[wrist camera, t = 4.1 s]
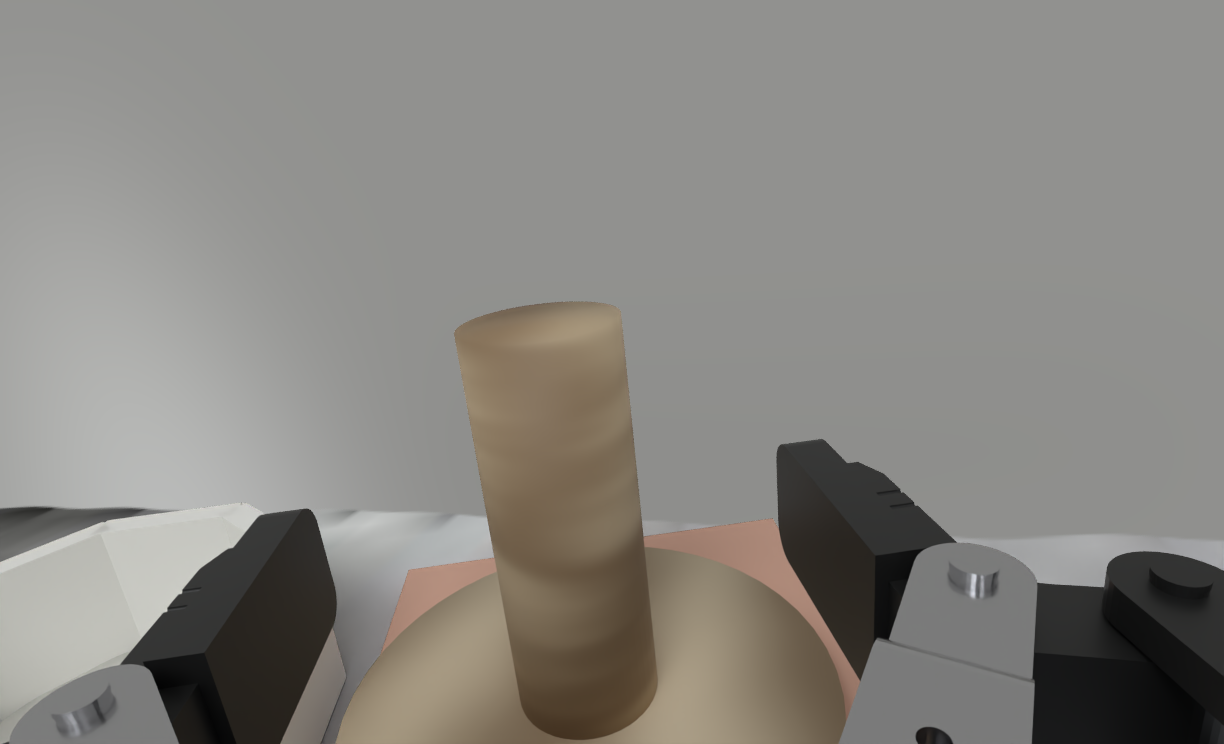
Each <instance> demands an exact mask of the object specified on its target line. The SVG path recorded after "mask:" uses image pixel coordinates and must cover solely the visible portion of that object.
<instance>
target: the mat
mask: <svg viewBox="0 0 1224 744" xmlns="http://www.w3.org/2000/svg"><path fill="white" fill-rule="evenodd" d="M643 538H644V547H652V548H659V549H667V550H674V551H679V552H684V553H689V554H693V555H697V556H701V557H704V558H707V559H711V560H714V561H717V562H720V563H722V564H725V565H727V566H730V567H732V568H735V569H737V570H740V571H741V572H743V573H745V574H747V575H749V576H751V577H753V578H755V579H757V580H758V581H760V582H762V583H763V584H765V585H766V586H768V587H769V588H771V589H772V590H774V591H775V592H777V593H778V594H779V595H781V596H782V597H783V598H784V599H785V600H786V601H788V602H789V603H790V604H791V605H792V606H793V607H794V608H796V609H797V610H798V611H799V612H800V614H801V615H802V616H803V617H804V618H805V619H806V620H807V621H808V623H809V624H810V625H811V626H812V627H813V628H814V630H815V631H816V633H817V634H818V636H819V637H820V639H821V640H822V642H823V643H824V645H825V647H826V648H827V650H828V652H829V655H830V657H831V659H832V661H833V663H834V665H835V668H836V670H837V673H838V676H839V680H840V684H841V687H842V691H843V695H844V703H845V713H846V721H847V718H848V715H849V712H850V710H851V707H852V704H853V701H854V698H855V695H856V692H857V690H858V687H859V684H860V680H859V678H858V677H857V675H856V673H855V672H854V670H853V668H852V667H851V665H850V663H849V662H848V660H847V658H846V657H845V655H844V653H843V652H842V650H841V648H840V647H839V645H838V643H837V642H836V640H835V638H834V637H833V635H832V633H831V632H830V630H829V628H828V627H827V625H826V624H825V622H824V620H823V619H822V617H821V615H820V614H819V612H818V610H817V609H816V607H815V605H814V604H813V602H812V600H811V599H810V597H809V595H808V594H807V592H806V590H805V589H804V587H803V585H802V584H801V582H800V580H799V579H798V577H797V575H796V574H795V572H794V570H793V569H792V567H791V565H790V564H789V562H788V560H787V558H786V556H785V553H784V550H783V547H782V543H781V538H780V533H779V528H778V527H777V525H776V523H775V522H774V520H773V519H765V520H758V521H751V522H744V523H736V524H729V525H722V526H715V527H708V528H701V529H694V530H687V531H680V532H673V533H666V534H659V535H652V536H645V537H643ZM495 572H497V569H496V563H495V558H489V559H482V560H475V561H468V562H461V563H454V564H447V565H440V566H433V567H426V568H419V569H411V570H409V571H408V574H407V577H406V580H405V583H404V586H403V589H402V592H401V595H400V598H399V601H398V604H397V607H396V610H395V613H394V616H393V619H392V622H391V625H390V628H389V631H388V634H387V637H386V640H385V643H384V646H383V648H382V651H381V654H382V652H383V651H384V650H385V649H386V648H387V647H388V646H389V645H390V644H391V643H392V642H393V641H394V640H395V638H396V637H397V636H398V635H399V634H400V633H401V632H402V631H403V630H405V629H406V628H407V627H408V626H409V625H410V624H412V623H413V622H414V621H415V620H416V619H417V618H419V617H420V616H421V615H422V614H424V613H425V612H426V611H428V610H429V609H430V608H432V607H433V606H435V605H436V604H437V603H439V602H440V601H442V600H443V599H445V598H447V597H448V596H450V595H452V594H453V593H455V592H456V591H458V590H460V589H461V588H463V587H465V586H467V585H469V584H471V583H473V582H475V581H477V580H479V579H481V578H483V577H485V576H487V575H490V574H492V573H495ZM381 654H380V655H381Z"/></svg>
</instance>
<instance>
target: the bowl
mask: <svg viewBox="0 0 1224 744" xmlns="http://www.w3.org/2000/svg"><path fill="white" fill-rule="evenodd" d="M263 514H264V513H262V512H261V511H259V510H257V509H255V508H254V507H252V506H250V505H249V504H247V503H244V504H242V503H234V504H227V505H219V506H212V507H204V508H198V509H189V510H182V511H175V512H167V513H160V514H152V515H145V516H137V517H130V518H123V519H115V520H108V521H107V522H105V523H103V522H101V523H99V524H96V525H94V526H91V527H88V528H86V529H83V530H81V531H78V532H76V533H73V534H71V535H68V536H66V537H63V538H60V539H58V540H55V541H53V542H50V543H48V544H45V545H43V546H40V547H38V548H35V549H32V550H30V551H27V552H25V553H22V554H20V555H17V556H15V557H12V558H10V559H7V560H4V561H2V562H0V744H3V743H6V742H9V739H10V735H11V733H12V731H13V729H14V727H15V726H16V724H17V723H18V721H19V720H20V719H21V718H22V717H23V716H24V715H25V714H26V713H27V712H28V711H29V710H30V709H31V708H32V707H33V706H34V705H35V704H37V703H38V702H39V701H41V700H42V699H43V698H45V697H46V696H48V695H49V694H51V693H52V692H53V691H55V690H57V689H58V688H60V687H62V686H64V685H65V684H67V683H69V682H71V681H73V680H75V679H77V678H79V677H82V676H84V675H87V674H89V673H92V672H95V671H97V670H100V669H104V668H108V667H111V666H117V665H120V664H121V662H122V661H123V660H124V659H125V658H126V656H127V655H128V654H129V653H130V652H131V651H132V649H133V648H134V647H135V646H136V645H137V643H138V642H139V641H140V640H141V639H142V637H143V636H144V635H145V634H146V633H147V631H148V630H149V629H150V628H151V627H152V625H153V624H154V623H155V622H156V621H157V619H158V618H159V617H160V616H161V615H162V613H164V612H167V607H168V606H169V605H170V604H171V603H172V601H173V600H174V599H175V598H176V597H177V595H178V594H182V589H183V588H184V587H185V586H186V585H187V583H188V582H189V581H190V580H191V579H192V577H193V576H194V575H195V574H196V573H197V571H198V570H199V569H200V568H201V567H203V566H204V565H206V564H207V563H208V562H210V561H211V560H213V559H214V558H215V557H217V556H218V555H220V554H221V553H223V552H224V551H225V550H227V549H228V548H233V547H234V546H235V545H236V544H237V542H238V541H239V540H240V538H241V537H242V536H243V535H244V533H245V532H246V531H247V530H248V528H249V527H250V526H251V525H252V523H253V522H254V521H255V520H256V518H257V517H258V516H260V515H263ZM345 679H346V673H345V669H344V665H343V662H342V658H341V655H340V651H339V648H338V644H337V640H336V637H335V633H334V630H333V628H332V630H331V632H330V634H329V636H328V639H327V641H326V643H325V645H324V648H323V650H322V652H321V654H320V657H319V659H318V661H317V663H316V665H315V668H314V670H313V672H312V674H311V677H310V679H309V681H308V683H307V685H306V688H305V690H304V692H303V694H302V697H301V699H300V701H299V703H298V705H297V708H296V710H295V712H294V714H293V717H292V719H291V721H290V723H289V726H288V728H287V730H286V732H285V734H284V737H283V739H282V741H281V743H280V744H321V741H322V739H323V736H324V734H325V731H326V728H327V726H328V723H329V721H330V718H331V716H332V713H333V710H334V708H335V705H336V703H337V700H338V697H339V695H340V692H341V690H342V687H343V684H344V682H345Z"/></svg>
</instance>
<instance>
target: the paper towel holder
mask: <svg viewBox="0 0 1224 744" xmlns="http://www.w3.org/2000/svg"><path fill="white" fill-rule="evenodd" d="M454 336H455V342H456V347H457V353H458V358H459V363H460V369H461V375H462V380H463V386H464V391H465V396H466V402H467V408H468V414H469V419H470V425H471V430H472V436H473V441H474V446H475V452H476V458H477V463H478V468H479V475H480V480H481V486H482V491H483V496H484V502H485V508H486V513H487V519H488V524H489V530H490V536H491V541H492V547H493V552H494V558H495V563H496V569H497V572H495V573H492V574H490V575H487V576H485V577H483V578H481V579H479V580H477V581H475V582H473V583H471V584H469V585H467V586H465V587H463V588H461V589H460V590H458V591H456V592H455V593H453V594H452V595H450V596H448V597H447V598H445V599H443V600H442V601H440V602H439V603H437V604H436V605H435V606H433V607H432V608H430V609H429V610H428V611H426V612H425V613H424V614H422V615H421V616H420V617H419V618H417V619H416V620H415V621H414V622H413V623H412V624H410V625H409V626H408V627H407V628H406V629H405V630H403V631H402V632H401V633H400V634H399V635H398V636H397V637H396V638H395V640H394V641H393V642H392V643H391V644H390V645H389V646H388V647H387V648H386V649H385V650H384V651H383V652H382V654H381V655H380V656H379V657H378V659H377V660H376V661H375V663H374V664H373V665H372V666H371V668H370V669H369V670H368V672H367V673H366V675H365V677H364V678H363V680H362V681H361V683H360V685H359V686H358V688H357V690H356V691H355V693H354V695H353V697H352V699H351V701H350V704H349V706H348V708H347V710H346V712H345V715H344V717H343V719H342V723H341V726H340V730H339V733H338V737H337V740H336V743H335V744H839V741H840V738H841V735H842V732H843V730H844V727H845V724H846V713H845V703H844V695H843V691H842V687H841V684H840V680H839V676H838V673H837V670H836V668H835V665H834V663H833V661H832V659H831V657H830V655H829V652H828V650H827V648H826V647H825V645H824V643H823V642H822V640H821V639H820V637H819V636H818V634H817V633H816V631H815V630H814V628H813V627H812V626H811V625H810V624H809V623H808V621H807V620H806V619H805V618H804V617H803V616H802V615H801V614H800V612H799V611H798V610H797V609H796V608H794V607H793V606H792V605H791V604H790V603H789V602H788V601H786V600H785V599H784V598H783V597H782V596H781V595H779V594H778V593H777V592H775V591H774V590H772V589H771V588H769V587H768V586H766V585H765V584H763V583H762V582H760V581H758V580H757V579H755V578H753V577H751V576H749V575H747V574H745V573H743V572H741V571H740V570H737V569H735V568H732V567H730V566H727V565H725V564H722V563H720V562H717V561H714V560H711V559H707V558H704V557H701V556H697V555H693V554H689V553H684V552H679V551H674V550H667V549H659V548H652V547H644V538H643V528H642V518H641V508H640V498H639V489H638V479H637V469H636V459H635V448H634V438H633V428H632V418H631V409H630V399H629V389H628V379H627V369H626V359H625V350H624V340H623V329H622V319H621V311H620V310H619V309H618V308H616V307H614V306H612V305H608V304H604V303H596V302H555V303H543V304H535V305H529V306H522V307H516V308H511V309H506V310H501V311H498V312H494V313H490V314H487V315H483V316H481V317H477V318H475V319H472V320H470V321H468V322H466V323H464V324H463V325H461V326H459V327H458V328H457V329H456V330H455V333H454Z"/></svg>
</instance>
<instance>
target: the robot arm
mask: <svg viewBox="0 0 1224 744" xmlns="http://www.w3.org/2000/svg"><path fill="white" fill-rule="evenodd" d="M777 489H778V490H777V491H778V521H779V533H780V538H781V543H782V547H783V550H784V553H785V556H786V558H787V560H788V562H789V564H790V565H791V567H792V569H793V570H794V572H795V574H796V575H797V577H798V579H799V580H800V582H801V584H802V585H803V587H804V589H805V590H806V592H807V594H808V595H809V597H810V599H811V600H812V602H813V604H814V605H815V607H816V609H817V610H818V612H819V614H820V615H821V617H822V619H823V620H824V622H825V624H826V625H827V627H828V628H829V630H830V632H831V633H832V635H833V637H834V638H835V640H836V642H837V643H838V645H839V647H840V648H841V650H842V652H843V653H844V655H845V657H846V658H847V660H848V662H849V663H850V665H851V667H852V668H853V670H854V672H855V673H856V675H857V677H858V678H859V680H860V684H859V687H858V690H857V692H856V695H855V698H854V701H853V704H852V707H851V710H850V712H849V715H848V718H847V721H846V724H845V727H844V730H843V732H842V735H841V738H840V741H839V744H1224V571H1223V570H1221V569H1219V568H1217V567H1214V566H1212V565H1209V564H1207V563H1204V562H1201V561H1198V560H1195V559H1192V558H1188V557H1184V556H1180V555H1174V554H1169V553H1161V552H1145V551H1144V552H1131V553H1126V554H1122V555H1119V556H1117V557H1115V558H1114V559H1112V560H1111V561H1110V562H1109V564H1108V567H1107V572H1106V579H1105V586H1104V587H1088V586H1072V585H1055V584H1043V583H1037V580H1036V578H1035V576H1034V574H1033V573H1032V572H1031V570H1030V569H1029V568H1028V567H1027V566H1026V565H1024V564H1023V563H1022V562H1020V561H1019V560H1017V559H1016V558H1014V557H1012V556H1010V555H1008V554H1006V553H1004V552H1001V551H999V550H996V549H993V548H990V547H986V546H982V545H976V544H970V543H957V542H956V541H955V540H954V539H953V538H952V537H951V536H949V535H948V534H947V533H946V532H945V531H944V530H943V529H942V528H941V527H940V526H939V525H938V524H937V523H936V522H935V521H933V520H932V519H931V518H930V517H929V516H928V515H927V514H926V513H925V512H924V511H923V510H922V509H921V508H920V507H919V506H915V505H914V502H913V501H912V500H911V499H910V498H909V497H908V496H907V495H906V494H905V493H901V491H900V489H899V488H898V487H897V486H896V485H895V484H894V483H893V482H892V481H891V480H889V478H888V477H886V476H885V475H884V474H883V473H881V472H879V471H876V470H874V469H872V468H870V467H868V466H865V465H863V464H861V463H859V462H854V463H846V462H845V461H844V460H843V459H842V457H841V456H839V454H838V453H836V451H835V450H833V448H832V447H831V446H830V445H829V444H828V443H827V442H826V441H824V440H823V439H818V440H811V441H804V442H796V443H789V444H782V445H780V446H779V447H778V450H777ZM336 605H337V604H336V591H335V586H334V582H333V579H332V575H331V571H330V567H329V564H328V560H327V556H326V553H325V549H324V545H323V542H322V538H321V534H320V531H319V527H318V523H317V520H316V518H315V516H314V514H313V512H312V511H311V510H309V509H299V510H292V511H285V512H277V513H270V514H263V515H260V516H258V517H257V518H256V520H255V521H254V522H253V523H252V525H251V526H250V527H249V528H248V530H247V531H246V532H245V533H244V535H243V536H242V537H241V538H240V540H239V541H238V542H237V544H236V545H235V546H234V547H233V548H228V549H227V550H225V551H224V552H223V553H221V554H220V555H218V556H217V557H215V558H214V559H213V560H211V561H210V562H208V563H207V564H206V565H204V566H203V567H201V568H200V569H199V570H198V571H197V573H196V574H195V575H194V576H193V577H192V579H191V580H190V581H189V582H188V583H187V585H186V586H185V587H184V588H183V589H182V594H178V595H177V597H176V598H175V599H174V600H173V601H172V603H171V604H170V605H169V606H168V607H167V612H164V613H162V615H161V616H160V617H159V618H158V619H157V621H156V622H155V623H154V624H153V625H152V627H151V628H150V629H149V630H148V631H147V633H146V634H145V635H144V636H143V637H142V639H141V640H140V641H139V642H138V643H137V645H136V646H135V647H134V648H133V649H132V651H131V652H130V653H129V654H128V655H127V656H126V658H125V659H124V660H123V661H122V662H121V664H120V665H117V666H111V667H108V668H104V669H100V670H97V671H95V672H92V673H89V674H87V675H84V676H82V677H79V678H77V679H75V680H73V681H71V682H69V683H67V684H65V685H64V686H62V687H60V688H58V689H57V690H55V691H53V692H52V693H51V694H49V695H48V696H46V697H45V698H43V699H42V700H41V701H39V702H38V703H37V704H35V705H34V706H33V707H32V708H31V709H30V710H29V711H28V712H27V713H26V714H25V715H24V716H23V717H22V718H21V719H20V720H19V721H18V723H17V724H16V726H15V727H14V729H13V731H12V733H11V735H10V739H9V742H6V743H3V744H280V743H281V741H282V739H283V737H284V734H285V732H286V730H287V728H288V726H289V723H290V721H291V719H292V717H293V714H294V712H295V710H296V708H297V705H298V703H299V701H300V699H301V697H302V694H303V692H304V690H305V688H306V685H307V683H308V681H309V679H310V677H311V674H312V672H313V670H314V668H315V665H316V663H317V661H318V659H319V657H320V654H321V652H322V650H323V648H324V645H325V643H326V641H327V639H328V636H329V634H330V632H331V630H332V628H333V625H334V621H335V617H336Z"/></svg>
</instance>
